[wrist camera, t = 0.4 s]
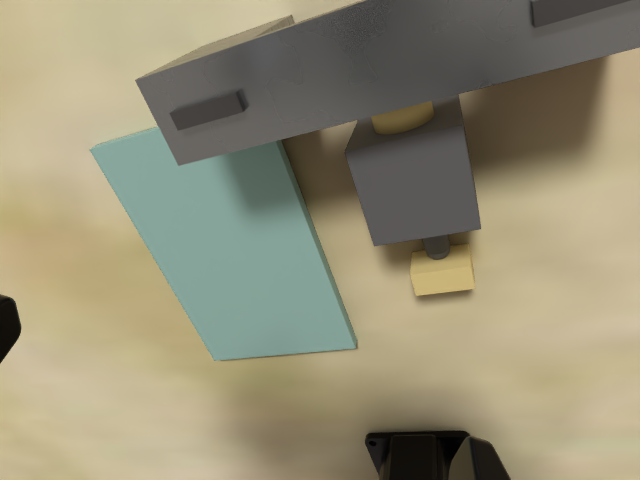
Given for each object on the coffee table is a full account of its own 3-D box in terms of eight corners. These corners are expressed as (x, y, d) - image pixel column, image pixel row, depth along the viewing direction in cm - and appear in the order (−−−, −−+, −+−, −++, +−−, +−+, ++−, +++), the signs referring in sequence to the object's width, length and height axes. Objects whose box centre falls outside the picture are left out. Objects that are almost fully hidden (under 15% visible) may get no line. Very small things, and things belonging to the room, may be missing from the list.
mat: (357, 340, 26) (355, 348, 26) (218, 353, 29) (214, 360, 29) (264, 95, 20) (259, 99, 19) (97, 144, 23) (89, 149, 22)
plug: (488, 262, 22) (496, 312, 19) (402, 274, 23) (398, 322, 20) (454, 73, 18) (457, 100, 15) (353, 100, 19) (337, 130, 16)
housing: (616, 7, 15) (687, 39, 11) (231, 117, 20) (174, 169, 16) (614, -100, 14) (696, -112, 10) (201, 46, 19) (129, 82, 15)
